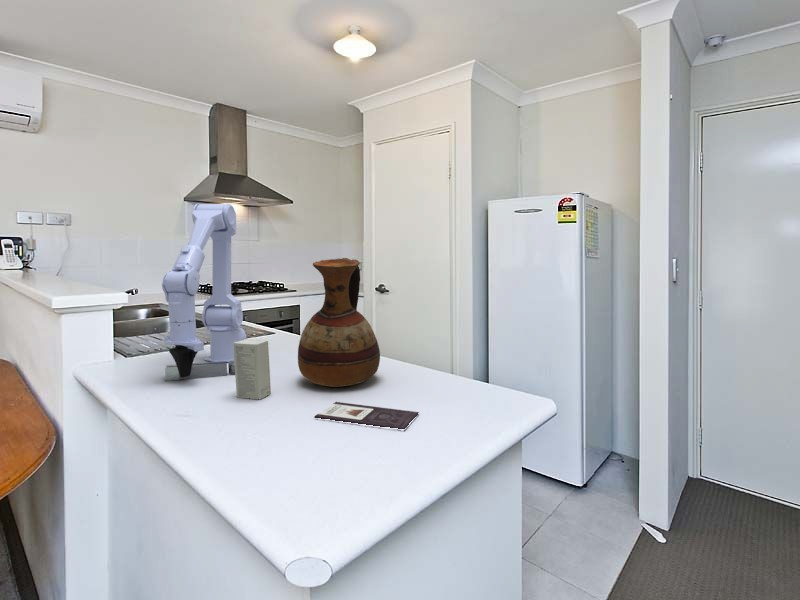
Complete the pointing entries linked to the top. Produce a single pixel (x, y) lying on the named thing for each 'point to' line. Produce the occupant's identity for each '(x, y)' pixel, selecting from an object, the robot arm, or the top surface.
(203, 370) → the tongs moving leg
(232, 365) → the bar
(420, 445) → the top surface
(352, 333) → the ceramic pitcher
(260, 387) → the skincare box
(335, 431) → the top surface
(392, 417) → the chocolate bar
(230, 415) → the top surface
